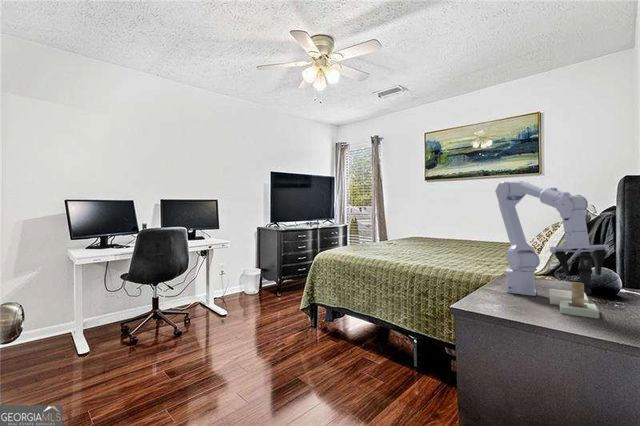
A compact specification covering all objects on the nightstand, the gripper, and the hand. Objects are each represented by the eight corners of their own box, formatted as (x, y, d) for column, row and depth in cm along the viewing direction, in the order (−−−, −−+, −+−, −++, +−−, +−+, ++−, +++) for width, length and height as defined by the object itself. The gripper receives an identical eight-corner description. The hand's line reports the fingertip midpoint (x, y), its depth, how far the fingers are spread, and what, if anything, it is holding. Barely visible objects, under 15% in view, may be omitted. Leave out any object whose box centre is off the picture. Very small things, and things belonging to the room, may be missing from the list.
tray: (549, 303, 105) (549, 295, 105) (549, 296, 114) (549, 288, 114) (588, 309, 100) (588, 299, 100) (584, 301, 108) (584, 292, 108)
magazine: (578, 290, 115) (579, 252, 120) (580, 298, 124) (581, 262, 129) (591, 292, 113) (592, 253, 117) (592, 300, 122) (593, 263, 126)
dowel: (572, 312, 97) (571, 283, 97) (571, 309, 99) (571, 281, 99) (584, 313, 95) (584, 284, 95) (583, 311, 98) (583, 282, 98)
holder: (560, 313, 96) (560, 306, 96) (559, 305, 104) (559, 299, 104) (599, 318, 91) (599, 311, 91) (594, 310, 98) (594, 304, 98)
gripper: (550, 233, 99) (557, 276, 97) (609, 229, 92) (618, 275, 91) (546, 234, 105) (552, 274, 103) (601, 230, 99) (609, 274, 97)
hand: (582, 275), depth 97 cm, fingers open, 7 cm apart
